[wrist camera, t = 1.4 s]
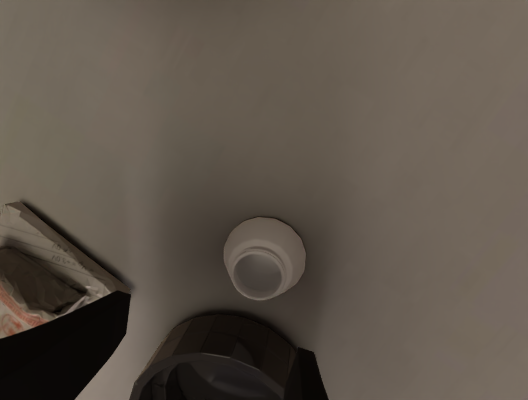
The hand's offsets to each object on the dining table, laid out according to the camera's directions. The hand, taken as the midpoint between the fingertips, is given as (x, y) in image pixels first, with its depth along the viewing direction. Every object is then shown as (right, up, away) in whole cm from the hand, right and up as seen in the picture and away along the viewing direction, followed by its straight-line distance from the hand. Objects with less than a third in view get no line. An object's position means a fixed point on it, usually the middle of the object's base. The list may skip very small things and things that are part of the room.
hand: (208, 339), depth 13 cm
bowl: (0, -7, +11) cm, 13 cm away
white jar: (+2, +2, +7) cm, 8 cm away
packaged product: (-16, -4, +12) cm, 21 cm away
